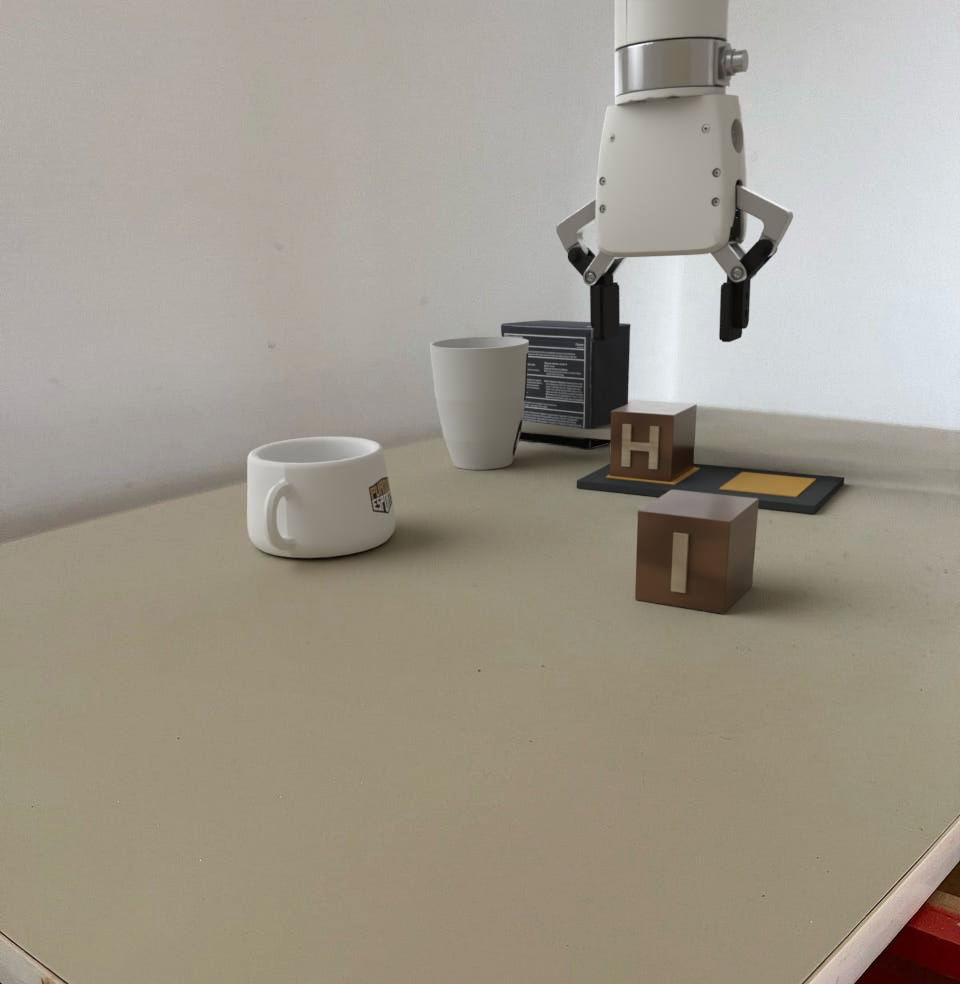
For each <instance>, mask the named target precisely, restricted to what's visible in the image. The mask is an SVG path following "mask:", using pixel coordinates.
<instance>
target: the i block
mask: <svg viewBox="0 0 960 984" xmlns="http://www.w3.org/2000/svg"><path fill="white" fill-rule="evenodd" d="M758 504H759V499H757V498H747V497H738V496H729V495H719V494H710V493H700V492H691V491H682V490H670V491H669V492H667V493H665V494H664V495H662V496H661V497H657V498H656V499H654V500H652V501H651V502H649V503H648V504H647V505H645V506H643V507H641V508H640V509H639V510H637V523H636V524H637V525H636V554H635V555H636V559H635V585H634V586H635V588H634V600H636V601H641V602H647V603H654V604H661V605H666V606H672V607H678V608H684V609H690V610H697V611H703V612H709V613H715V614H720V615H721V614H722V615H724V614H726V613H727V612H728V611H729V609H730V608H732V607H733V606H734V605H735V604H736V602H737V601H739V599H740V598H741V597H742V596H743V595H744V594H745V593H746V592H747V591H748V590H749V589H750V588H751V587H752V586H753V579H754V567H755V554H756V543H757V542H756V541H757V527H758V515H759V508H758Z"/></svg>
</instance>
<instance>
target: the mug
mask: <svg viewBox="0 0 960 984" xmlns="http://www.w3.org/2000/svg"><path fill="white" fill-rule="evenodd" d="M246 462H247V463H246V466H247V467H246V469H247V471H246V476H247V478H246V481H247V484H246V487H247V488H246V489H247V492H246V493H247V497H246V508H247V509H246V521H247V522H246V525H247V533H248V537H249V540H250V541H251V543H252V544H253V545H254V546H255V547H256V548H257V549H259V550H260V551H262V552H264V553H267V554H270V555H273V556H279V557H286V558H298V559H315V558H316V559H317V558H318V559H319V558H332V557H340V556H347V555H351V554H356V553H361V552H366V551H368V550H370V549H374V548H377V547H379V546H381V545H382V544H384V543H386V542H387V541H388V540H389V539H390V538H391V536H392V535H393V533H394V532H395V531H396V514H395V513H396V512H395V507H394V500H393V495H392V491H391V485H390V480H389V473H388V468H387V463H386V457H385V451H384V447H383V445H381V444H380V443H378V442H377V441H374V440H371V439H368V438H362V437H354V436H310V437H299V438H291V439H285V440H279V441H274V442H271V443H266V444H264V445H260V446H258V447H256V448H254V449H252V450H251V451H249V454H248V455H247V458H246Z"/></svg>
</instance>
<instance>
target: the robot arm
mask: <svg viewBox="0 0 960 984" xmlns="http://www.w3.org/2000/svg"><path fill="white" fill-rule="evenodd" d="M729 23H730V0H614V105H608V106H607V107H606V111H605V116H604V121H603V126H602V132H601V138H600V143H599V144H600V145H599V151H598V152H599V153H598V162H597V172H596V173H597V174H596V186H595V187H596V188H595V197H594V198H593V199H592V200H590V201H589V202H587V203H586V204H584V205H583V206H581V207H580V208H578V209H577V210H576V211H574V212H573V213H571V214H570V215H568V216H567V217H565V218H564V219H563V220H561V221H560V222H559V223H557V225H556V227H555V228H556V229H555V231H556V234H557V236H558V238H559V240H560V242H561V244H562V246H563V248H564V251H566V253H567V260H568V262H569V264H571V265H572V266H573V267H574V269H576V270H575V271H577V272H578V273H579V274H580V275H581V276H582V280H583V282H584V284H585V285H587V286H589V302H590V303H589V309H590V310H589V311H590V312H589V313H590V315H589V317H590V321H589V322H591V327H592V328H593V329H595V340H596V341H605V340H609V339H612V338H615V337H617V336H618V335H619V333H620V321H621V320H620V317H621V315H620V285H619V284H618V282H617V281H616V282H614V277H615V275H616V274H617V272H618V271H619V269H620V268H621V266H623V264H624V262H625V261H626V259H627V258H647V257H648V258H649V257H674V256H675V257H677V256H697V255H699V256H700V255H708V254H711V256H712V257H713V258H714V260H715V261H716V262H717V264H718V265H719V266H720V267H721V269H722V271H724V273H725V274H726V282H723V283H722V284H721V286H720V295H719V296H720V299H719V300H720V301H719V328H718V329H719V332H718V338H719V340H720V341H721V342H722V343H731V342H734V341H737V340H739V339H741V338H742V335H743V330H745V329H747V328H748V325H749V322H750V321H749V320H750V305H751V303H750V302H751V301H750V300H751V280H752V279H754V278H755V277H756V276H757V274H758V272H759V271H760V270H761V269H762V268H763V267H764V266H765V265H766V264H767V263H768V262H769V261H770V260H771V258H773V256H774V255H775V254H776V253H777V252H778V247H779V245H780V243H781V242H782V240H783V239H784V237H785V234H786V233H787V231H788V229H789V227H790V225H791V223H792V221H793V219H794V213H793V211H792V210H790V209H789V208H787V207H785V206H783V205H781V204H779V203H777V202H775V201H773V200H771V199H770V198H768V197H766V196H763V195H762V194H760V193H758V192H756V191H754V190H752V189H751V188H748V176H747V175H748V174H747V159H746V158H747V157H746V143H745V141H746V139H745V131H744V130H745V129H744V120H743V113H742V106H741V101H740V96H739V95H735V94H727V93H728V91H727V90H728V89H727V88H730V87H731V86H730V85H731V80H732V77H736V75H737V74H745V73H747V72H748V69H749V63H750V62H749V61H750V58H749V52H748V50H747V49H739V50H737V49H736V48H733V47H732V43H730V42H729ZM748 215H750V216H752V217H754V218H756V219H758V220H760V221H761V222H762V224H763V229H762V230H761V231H762V232H761V233H760V236H759V238H758V240H757V241H756V242H755V243H754V244H753V245H752V246H751V247H750V249H749V250H748V251H746V249H745V248H744V247H743V246H742V244H743V243H744V241H745V239H746V236H747V229H748ZM592 225H595V227H594V229H595V240H596V241H595V242H596V245H597V248H598V252H597V254H595V253H594V252H593V251H592V250H591V249H590V248H589V247H588V246H587V245H586V241H585V239H584V232H585V230H587V229H588V228H589V227H590V226H592Z"/></svg>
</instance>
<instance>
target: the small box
mask: <svg viewBox="0 0 960 984" xmlns="http://www.w3.org/2000/svg"><path fill="white" fill-rule="evenodd" d="M500 335H501V337H514V338H522V339H526V340H528V341H529V345H528V368H527V392H526V399H525V406H524V413H523V420H522V422H530V423H538V424H545V425H546V424H547V425H551V426H552V425H553V426H560V427H567V428H568V427H569V428H577V429H583V430H584V429H585V430H593V429H597V428H602V427H605V426H609V425H611V411H612V410H615V409H617V408H620V407H622V406H624V405H627V404H629V381H630V351H631V350H630V349H631V347H630V346H631V340H630V339H631V323H625V322H624V323H620V333H619V335H618V336H617V337H615V338H612V339H609V340H605V341H596V340H595V329H593V328H592V327H591V321H576V320H575V321H572V320H551V319H550V320H549V319H548V320H547V319H545V320H544V319H540V320H527V321H516V322H515V321H514V322H503V323H501V324H500ZM610 440H611V439H606V438H596V437H595V438H594V437H583V436H571V435H561V434H560V435H557V434H550V433H549V434H547V433H546V434H545V433H537V432H536V433H535V432H524V431H523V432H522V431H521V434H520V437H519V441H527V442H533V443H541V444H550V445H555V446H564V447H571V448H578V449H584V450H591V449H594V448H597V447H601V446H605V445H608V444H610Z"/></svg>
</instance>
